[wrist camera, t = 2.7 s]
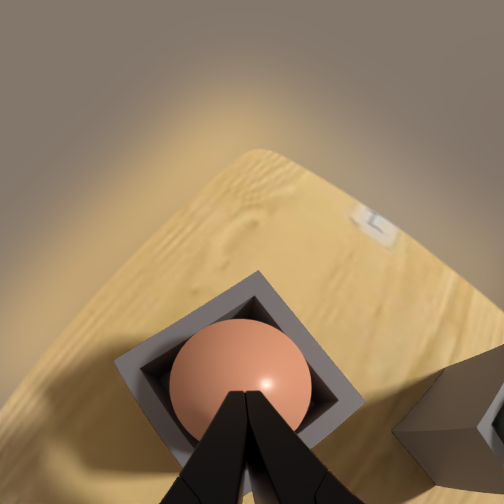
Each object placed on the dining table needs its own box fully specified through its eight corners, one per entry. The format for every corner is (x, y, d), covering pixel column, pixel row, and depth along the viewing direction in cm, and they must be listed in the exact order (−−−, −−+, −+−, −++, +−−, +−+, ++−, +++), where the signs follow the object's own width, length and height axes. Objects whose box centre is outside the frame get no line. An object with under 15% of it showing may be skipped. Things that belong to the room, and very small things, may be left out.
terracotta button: (225, 467, 10) (225, 479, 8) (158, 374, 12) (143, 365, 9) (318, 400, 12) (338, 396, 9) (250, 315, 13) (256, 294, 11)
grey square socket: (436, 485, 15) (520, 495, 7) (391, 431, 18) (476, 427, 10) (485, 421, 18) (565, 403, 10) (446, 366, 20) (527, 332, 12)
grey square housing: (222, 470, 16) (218, 510, 8) (159, 383, 19) (113, 360, 11) (309, 408, 19) (365, 401, 11) (246, 328, 21) (258, 270, 13)
